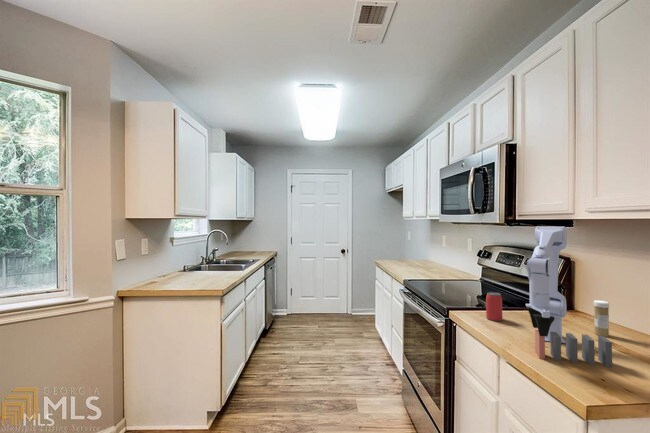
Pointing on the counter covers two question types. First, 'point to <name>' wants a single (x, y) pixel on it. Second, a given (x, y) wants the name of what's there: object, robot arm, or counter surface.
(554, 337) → the domino
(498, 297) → the beer can
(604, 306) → the sprinkles bottle
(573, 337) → the domino
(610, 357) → the domino
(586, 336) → the domino
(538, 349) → the red domino
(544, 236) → the robot arm
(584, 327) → the counter surface
